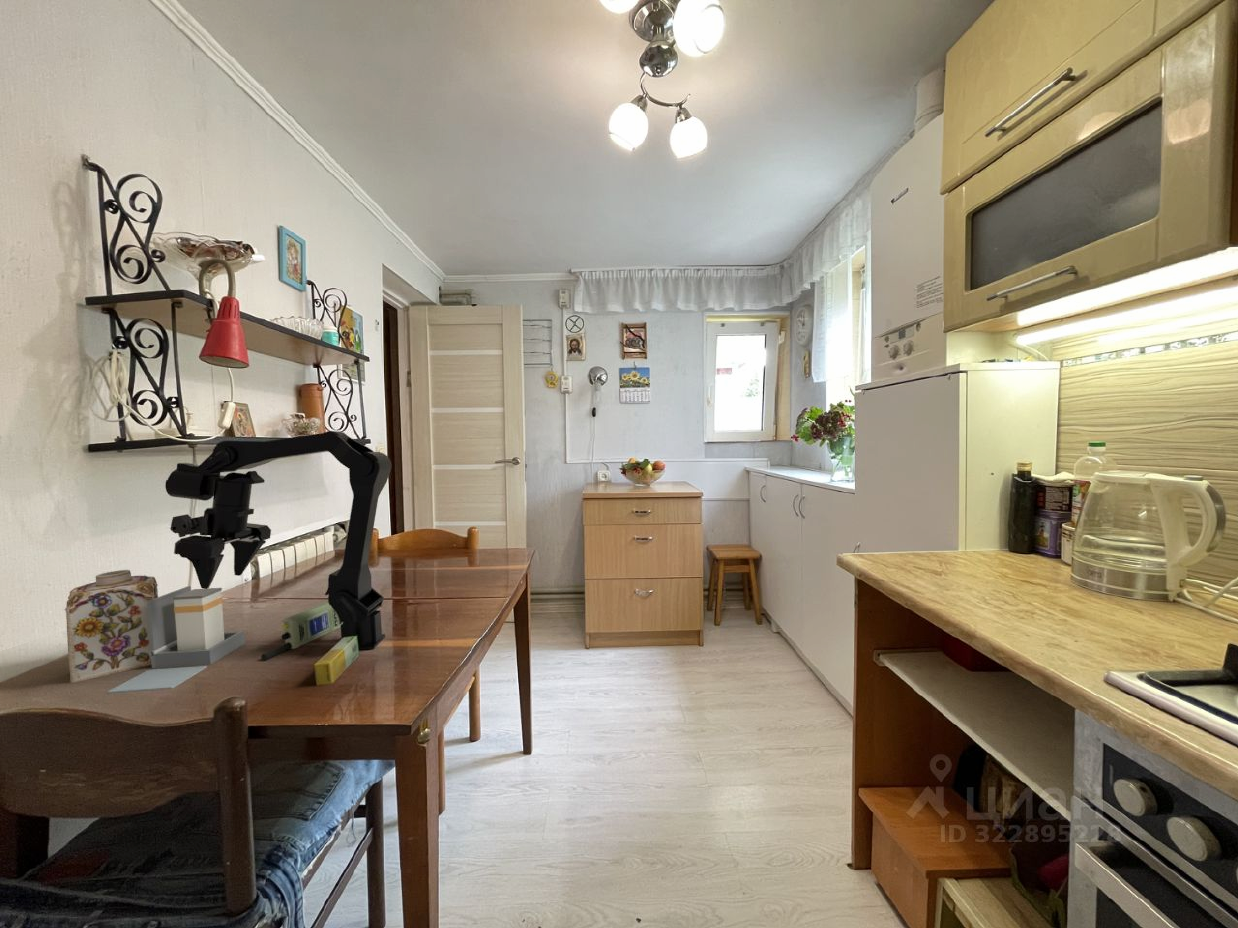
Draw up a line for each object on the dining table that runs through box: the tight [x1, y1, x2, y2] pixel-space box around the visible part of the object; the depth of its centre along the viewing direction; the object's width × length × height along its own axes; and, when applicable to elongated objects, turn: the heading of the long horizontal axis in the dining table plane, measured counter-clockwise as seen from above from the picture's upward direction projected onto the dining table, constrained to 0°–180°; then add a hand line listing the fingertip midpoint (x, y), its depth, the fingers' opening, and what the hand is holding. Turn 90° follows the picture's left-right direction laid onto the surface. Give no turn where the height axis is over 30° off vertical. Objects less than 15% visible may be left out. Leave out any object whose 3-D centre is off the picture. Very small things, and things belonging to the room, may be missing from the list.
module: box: [173, 587, 225, 651], centre depth 96 cm, size 5×5×12 cm
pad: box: [106, 665, 208, 694], centre depth 86 cm, size 10×8×1 cm
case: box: [147, 585, 246, 669], centre depth 96 cm, size 10×10×13 cm
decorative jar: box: [64, 569, 159, 684], centre depth 93 cm, size 12×12×18 cm
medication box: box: [313, 636, 360, 686], centre depth 89 cm, size 12×3×4 cm, turn 7°
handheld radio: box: [261, 600, 343, 662], centre depth 105 cm, size 7×3×25 cm
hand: (222, 581), depth 97 cm, fingers open, 9 cm apart
